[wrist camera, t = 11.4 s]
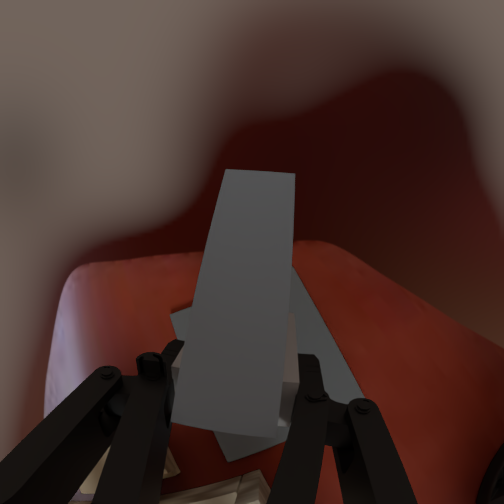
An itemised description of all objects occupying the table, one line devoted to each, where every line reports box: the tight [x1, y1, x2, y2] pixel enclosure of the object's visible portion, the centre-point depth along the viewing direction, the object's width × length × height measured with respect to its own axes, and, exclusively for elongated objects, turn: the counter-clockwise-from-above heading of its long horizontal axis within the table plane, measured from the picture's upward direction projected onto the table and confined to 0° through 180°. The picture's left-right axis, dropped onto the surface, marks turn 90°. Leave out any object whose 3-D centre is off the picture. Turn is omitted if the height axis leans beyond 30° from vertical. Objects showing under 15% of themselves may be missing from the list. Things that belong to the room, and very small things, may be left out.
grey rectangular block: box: [171, 169, 295, 438], centre depth 17 cm, size 4×12×13 cm, turn 173°
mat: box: [170, 267, 365, 462], centre depth 25 cm, size 14×16×1 cm
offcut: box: [80, 445, 111, 494], centre depth 15 cm, size 7×4×2 cm, turn 112°
